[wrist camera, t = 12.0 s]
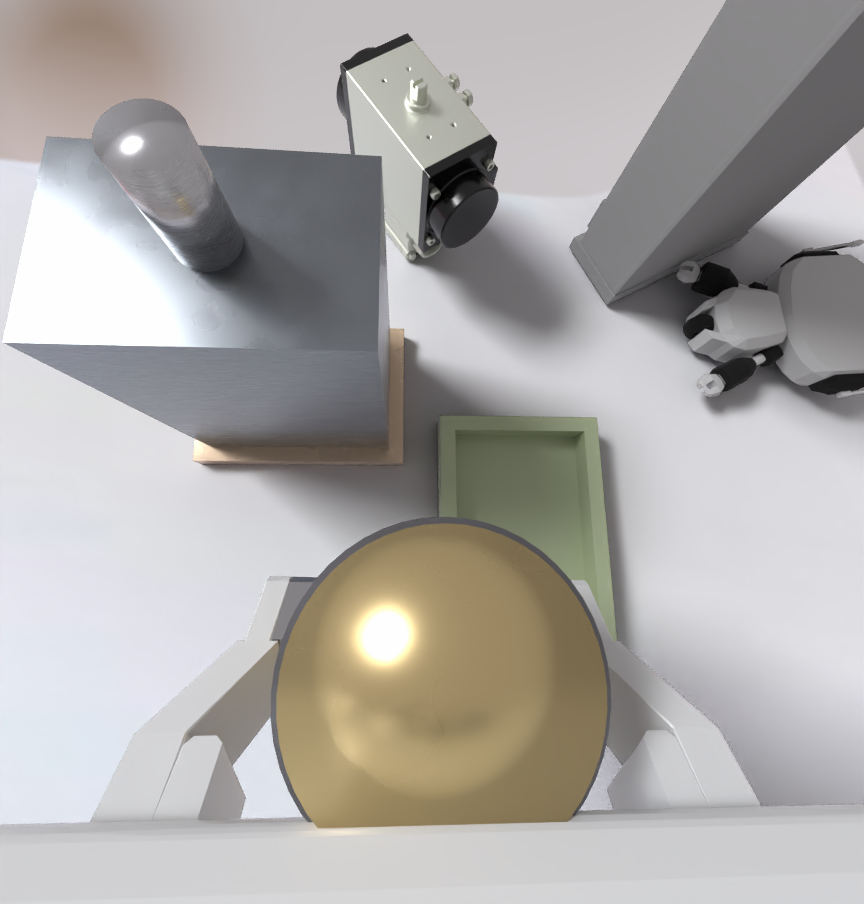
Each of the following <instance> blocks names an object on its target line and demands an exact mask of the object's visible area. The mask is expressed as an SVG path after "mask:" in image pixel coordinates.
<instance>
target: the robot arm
mask: <svg viewBox="0 0 864 904" xmlns="http://www.w3.org/2000/svg"><path fill="white" fill-rule="evenodd" d="M316 579H317V578H314V577H279V576H270V577H269V578H268V580H267V581H266V583H265V585H264V588H263V591H262V594H261V596H260V599H259V602H258V605H257V607H256V610H255V613H254V616H253V618H252V621H251V624H250V627H249V629H248V632H247V635H246V638H245V640H240V641H237V642H235V643H234V644H233V645H232V646H231V647H230V648H229V649H228V650H227V651H225V652H224V653H223V654H222V655H221V656H220V657H219V658H218V659H217V660H216V661H214V662H213V663H212V664H211V665H210V666H209V667H208V668H207V669H206V670H204V671H203V672H202V673H201V674H200V675H199V676H198V677H197V678H196V679H194V680H193V681H192V682H191V683H190V684H189V685H188V686H187V687H186V688H185V689H183V690H182V691H181V692H180V693H179V694H178V695H177V696H176V697H175V698H173V699H172V700H171V701H170V702H169V703H168V704H167V705H166V706H165V707H164V708H162V709H161V710H160V711H159V712H158V713H157V714H156V715H155V716H154V717H152V718H151V719H150V720H149V721H148V722H147V723H146V724H145V725H144V726H142V727H141V728H140V729H139V730H138V731H137V732H136V733H135V734H134V736H133V737H132V739H131V741H130V743H129V745H128V747H127V749H126V751H125V753H124V755H123V757H122V759H121V761H120V763H119V765H118V767H117V769H116V771H115V773H114V775H113V777H112V779H111V781H110V783H109V785H108V787H107V789H106V791H105V793H104V795H103V797H102V799H101V801H100V803H99V805H98V807H97V809H96V811H95V813H94V815H93V817H92V819H91V821H90V822H88V823H47V824H6V825H0V904H864V804H837V805H796V806H761V804H760V803H759V801H758V799H757V797H756V795H755V793H754V792H753V790H752V788H751V786H750V784H749V783H748V781H747V779H746V777H745V775H744V774H743V772H742V770H741V768H740V766H739V764H738V763H737V761H736V759H735V757H734V755H733V754H732V752H731V750H730V748H729V746H728V744H727V743H726V741H725V739H724V737H723V735H722V734H721V732H720V730H719V728H718V727H717V726H716V725H714V724H713V723H712V722H711V721H710V720H709V719H708V718H706V717H705V716H704V715H703V714H702V713H701V712H700V711H698V710H697V709H696V708H695V707H694V706H693V705H692V704H690V703H689V702H688V701H687V700H686V699H685V698H684V697H682V696H681V695H680V694H679V693H678V692H677V691H676V690H674V689H673V688H672V687H671V686H670V685H669V684H668V683H666V682H665V681H664V680H663V679H662V678H661V677H660V676H658V675H657V674H656V673H655V672H654V671H653V670H652V669H650V668H649V667H648V666H647V665H646V664H645V663H644V662H642V661H641V660H640V659H639V658H638V657H637V656H636V655H634V654H633V653H632V652H631V651H630V650H629V649H628V648H626V647H625V646H624V645H623V644H622V643H621V642H620V641H613V640H612V637H611V635H610V633H609V631H608V628H607V626H606V624H605V621H604V619H603V617H602V615H601V612H600V610H599V608H598V605H597V603H596V601H595V599H594V596H593V594H592V592H591V589H590V587H589V585H588V583H587V582H586V581H585V580H571V581H572V583H573V584H574V586H575V587H576V589H577V590H578V591H579V593H580V594H581V596H582V597H583V599H584V601H585V603H586V604H587V606H588V608H589V610H590V612H591V614H592V616H593V618H594V620H595V623H596V626H597V628H598V631H599V633H600V636H601V638H602V642H603V646H604V650H605V654H606V658H607V662H608V669H609V677H610V684H611V714H610V725H609V734H608V738H607V743H606V745H607V746H608V748H609V749H610V750H611V751H612V753H613V754H614V755H615V756H616V758H617V759H618V760H619V762H620V763H621V764H622V765H623V766H622V767H621V769H620V770H619V772H618V773H617V775H616V776H615V778H614V779H613V780H612V782H611V784H610V785H609V787H608V789H607V791H608V794H609V798H610V801H611V804H612V808H613V810H586V811H578V812H577V814H576V815H575V816H571V818H570V819H569V821H568V822H543V823H505V824H468V825H430V826H393V827H355V828H317V827H316V825H315V824H314V823H313V822H307V821H306V820H305V818H304V817H294V818H253V819H240V818H241V814H242V810H243V806H244V803H245V799H246V797H245V795H244V792H243V790H242V788H241V785H240V783H239V781H238V778H237V776H236V774H235V771H234V769H233V767H232V766H233V764H234V763H235V762H236V760H237V759H238V758H239V757H240V755H241V754H242V753H243V751H244V750H245V749H246V747H247V746H248V745H249V744H250V742H251V741H252V740H253V738H254V737H255V736H256V735H257V733H258V732H259V731H260V729H261V728H262V727H263V725H264V724H265V723H266V722H267V720H268V719H269V718H270V716H271V688H272V681H273V673H274V667H275V663H276V659H277V655H278V651H279V647H280V644H281V641H282V638H283V636H284V633H285V631H286V628H287V626H288V623H289V621H290V619H291V617H292V615H293V613H294V611H295V610H296V608H297V606H298V604H299V602H300V600H301V599H302V598H303V596H304V595H305V593H306V592H307V590H308V589H309V588H310V586H311V585H312V583H313V582H314V581H315V580H316Z"/></svg>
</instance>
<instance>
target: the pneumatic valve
mask: <svg viewBox="0 0 864 904" xmlns="http://www.w3.org/2000/svg"><path fill="white" fill-rule="evenodd" d="M340 68H341V75H340V78H339V81H338V86H337V102H338V106H339V109H340V111H341V113H342V115H343V116H344V117H345V118H346V120H347V125H348V133H349V141H350V149H351V154H352V155H369V156H382V172H383V194H384V208H385V231H386V233H387V234H388V235H389V237H390V238H391V239H392V241H393V242H394V243H395V245H396V246H397V247H398V249H399V250H400V251H401V253H402V254H403V255H404V257H405V258H406V259H407V260H409V259H410V260H411V261H412V260H414V259H415V258H416V253H419V254H420V255H421V256H422V257H423V258H428V257H431V256H432V255H434V254H435V253H436V252H437V251H438V250H439V249H440V248H441V246H442V245H443V246H444V247H446V248H455V247H458V246H461V245H463V244H465V243H466V242H468V241H469V240H471V239H472V238H473V237H475V236H476V235H477V234H478V233H479V232H480V231H481V230H482V229H483V228H484V227H485V225H486V224H487V223H488V221H489V220H490V219H491V217H492V215H493V213H494V211H495V209H496V207H497V204H498V192H497V190H496V189H495V187H494V186H493V185H494V181H495V177H496V173H497V170H498V168H497V166H496V165H495V164H494V162H493V158H494V154H495V150H496V145H497V141H496V140H495V139H494V138H493V137H492V135H491V134H490V133H489V132H488V131H487V129H486V128H485V127H484V126H483V124H482V123H481V122H480V121H479V120H478V118H477V117H476V116H475V115H474V114H473V112H472V111H471V110H470V109H469V106H471V105H472V103H473V96H472V93H471V92H470V91H469V90H465V91H463V93H459V94H457V93H456V92H455V91H457V90H458V89H459V86H460V82H459V78H458V76H457V75H456V74H455V73H453V74H451V75H450V76H449V77H447V76H446V77H443V76H442V75H441V73H440V72H439V71H438V70H437V69H436V67H435V66H434V65H433V64H432V62H431V61H430V60H429V59H428V58H427V56H426V55H425V54H424V53H423V51H422V50H421V49H420V48H419V47H418V45H417V44H416V43H415V42H414V40H413V39H412V38H411V37H410V36H409V34H405V35H403V36H400V37H398V38H396V39H394V40H392V41H389V42H387V43H385V44H383V45H381V46H378V47H376V48H374V47H373V48H366V49H363V50H361V51H359V52H358V53H356V54H355V55H354V56H353V57H352V58H351V59H350V60H348V61H345V62H343V63H341V64H340Z"/></svg>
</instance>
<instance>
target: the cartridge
mask: <svg viewBox="0 0 864 904" xmlns="http://www.w3.org/2000/svg"><path fill="white" fill-rule="evenodd" d="M610 714H611V684H610V677H609V669H608V662H607V658H606V654H605V650H604V646H603V642H602V638H601V636H600V633H599V631H598V628H597V626H596V623H595V620H594V618H593V616H592V614H591V612H590V610H589V608H588V606H587V604H586V603H585V601H584V599H583V597H582V596H581V594H580V593H579V591H578V590H577V589H576V587H575V586H574V584H573V583H572V581H571V580H570V579H569V578H568V577H567V575H566V574H565V573H564V572H563V571H562V570H561V569H560V568H559V566H558V565H557V564H556V563H555V562H554V561H552V560H551V559H550V558H549V557H548V556H547V555H546V554H544V553H543V552H542V551H541V550H540V549H538V548H537V547H535V546H534V545H532V544H531V543H529V542H528V541H526V540H525V539H523V538H522V537H520V536H518V535H516V534H514V533H512V532H510V531H508V530H506V529H503V528H500V527H497V526H495V525H492V524H489V523H486V522H482V521H477V520H472V519H467V518H457V517H430V518H421V519H416V520H411V521H406V522H402V523H399V524H396V525H393V526H390V527H387V528H384V529H382V530H380V531H378V532H376V533H374V534H372V535H370V536H367V537H365V538H364V539H362V540H361V541H359V542H358V543H356V544H355V545H353V546H351V547H350V548H348V549H347V550H346V551H344V552H343V553H342V554H341V555H340V556H339V557H337V558H336V559H335V560H334V561H333V562H332V563H330V564H329V565H328V566H327V567H326V569H325V570H324V571H323V572H322V573H321V574H320V575H319V576H318V577H317V579H316V580H315V581H314V582H313V583H312V585H311V586H310V588H309V589H308V590H307V592H306V593H305V595H304V596H303V598H302V599H301V600H300V602H299V604H298V606H297V608H296V610H295V611H294V613H293V615H292V617H291V619H290V621H289V623H288V626H287V628H286V631H285V633H284V636H283V638H282V641H281V644H280V647H279V651H278V655H277V659H276V663H275V667H274V673H273V681H272V688H271V725H272V734H273V742H274V747H275V751H276V755H277V759H278V763H279V767H280V770H281V773H282V775H283V778H284V780H285V783H286V785H287V788H288V791H289V793H290V795H291V796H292V798H293V800H294V802H295V804H296V805H297V807H298V809H299V811H300V813H301V814H302V816H303V817H304V818H305V820H306V821H307V822H313V823H314V824H315V825H316V827H317V828H355V827H393V826H430V825H468V824H505V823H543V822H568V821H569V819H570V818H571V816H575V815H576V814H577V812H578V811H579V809H580V808H581V806H582V805H583V803H584V802H585V800H586V798H587V796H588V794H589V792H590V790H591V788H592V786H593V784H594V781H595V779H596V776H597V774H598V771H599V768H600V765H601V762H602V759H603V756H604V752H605V747H606V743H607V738H608V734H609V725H610Z"/></svg>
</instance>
